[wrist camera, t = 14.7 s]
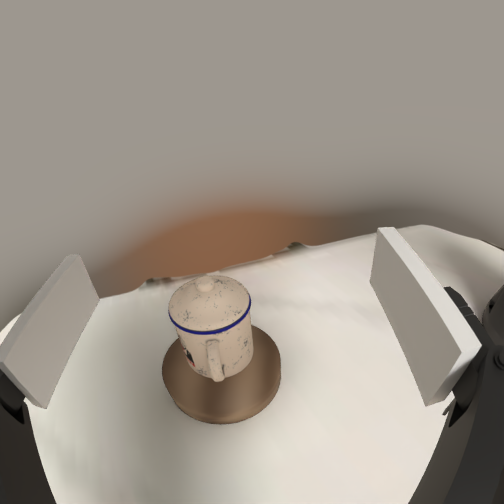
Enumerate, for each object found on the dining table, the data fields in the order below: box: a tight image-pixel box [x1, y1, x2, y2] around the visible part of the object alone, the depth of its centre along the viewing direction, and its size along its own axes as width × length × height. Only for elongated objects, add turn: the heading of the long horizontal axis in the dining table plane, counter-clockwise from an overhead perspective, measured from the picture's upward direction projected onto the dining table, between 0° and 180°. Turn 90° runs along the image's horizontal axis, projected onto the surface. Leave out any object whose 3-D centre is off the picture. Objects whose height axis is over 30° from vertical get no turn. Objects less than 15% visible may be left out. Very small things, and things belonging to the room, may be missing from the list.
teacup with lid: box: [168, 276, 254, 382], centre depth 31 cm, size 12×9×12 cm
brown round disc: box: [162, 325, 281, 424], centre depth 35 cm, size 15×15×3 cm
